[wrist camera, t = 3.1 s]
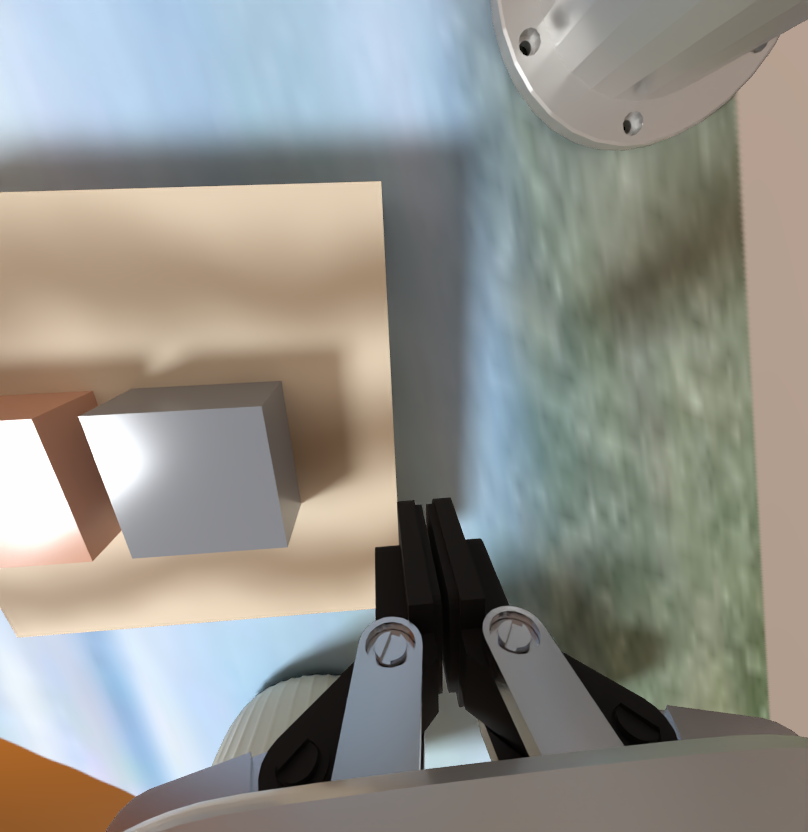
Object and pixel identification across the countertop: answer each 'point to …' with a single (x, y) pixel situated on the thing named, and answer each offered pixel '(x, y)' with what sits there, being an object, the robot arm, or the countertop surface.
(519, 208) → the countertop surface
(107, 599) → the board
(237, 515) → the slate tile
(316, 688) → the canister
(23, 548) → the terracotta tile
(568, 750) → the robot arm
